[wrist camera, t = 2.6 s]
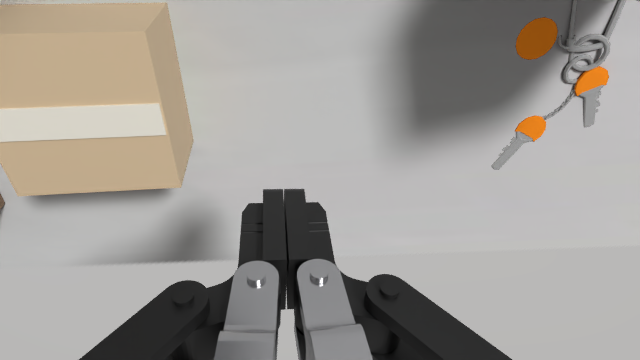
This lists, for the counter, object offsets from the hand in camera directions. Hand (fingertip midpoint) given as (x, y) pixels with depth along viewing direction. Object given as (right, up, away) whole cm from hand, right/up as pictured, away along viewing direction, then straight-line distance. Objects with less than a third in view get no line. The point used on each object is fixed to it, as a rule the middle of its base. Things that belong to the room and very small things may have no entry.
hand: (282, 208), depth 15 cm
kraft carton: (-10, +7, +8) cm, 14 cm away
